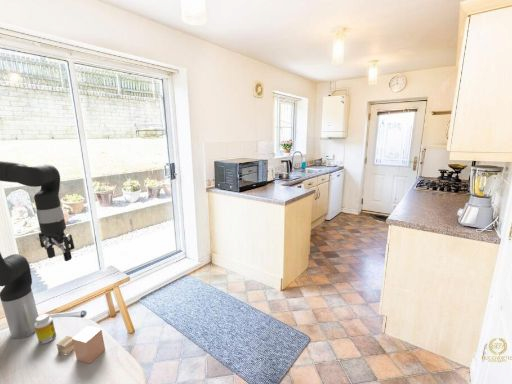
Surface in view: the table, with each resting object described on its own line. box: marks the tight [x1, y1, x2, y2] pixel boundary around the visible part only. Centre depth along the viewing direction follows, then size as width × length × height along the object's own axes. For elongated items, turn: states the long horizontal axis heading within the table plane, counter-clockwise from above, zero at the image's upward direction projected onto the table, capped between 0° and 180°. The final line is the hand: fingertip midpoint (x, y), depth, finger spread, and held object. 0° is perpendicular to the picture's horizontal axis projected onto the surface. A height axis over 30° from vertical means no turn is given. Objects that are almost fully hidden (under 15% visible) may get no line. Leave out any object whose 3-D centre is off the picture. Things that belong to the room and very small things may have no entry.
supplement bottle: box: [34, 313, 57, 344], centre depth 101 cm, size 6×6×10 cm
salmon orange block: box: [72, 325, 106, 364], centre depth 93 cm, size 6×6×9 cm
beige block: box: [56, 335, 74, 355], centre depth 96 cm, size 4×4×4 cm
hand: (60, 258), depth 98 cm, fingers open, 8 cm apart
